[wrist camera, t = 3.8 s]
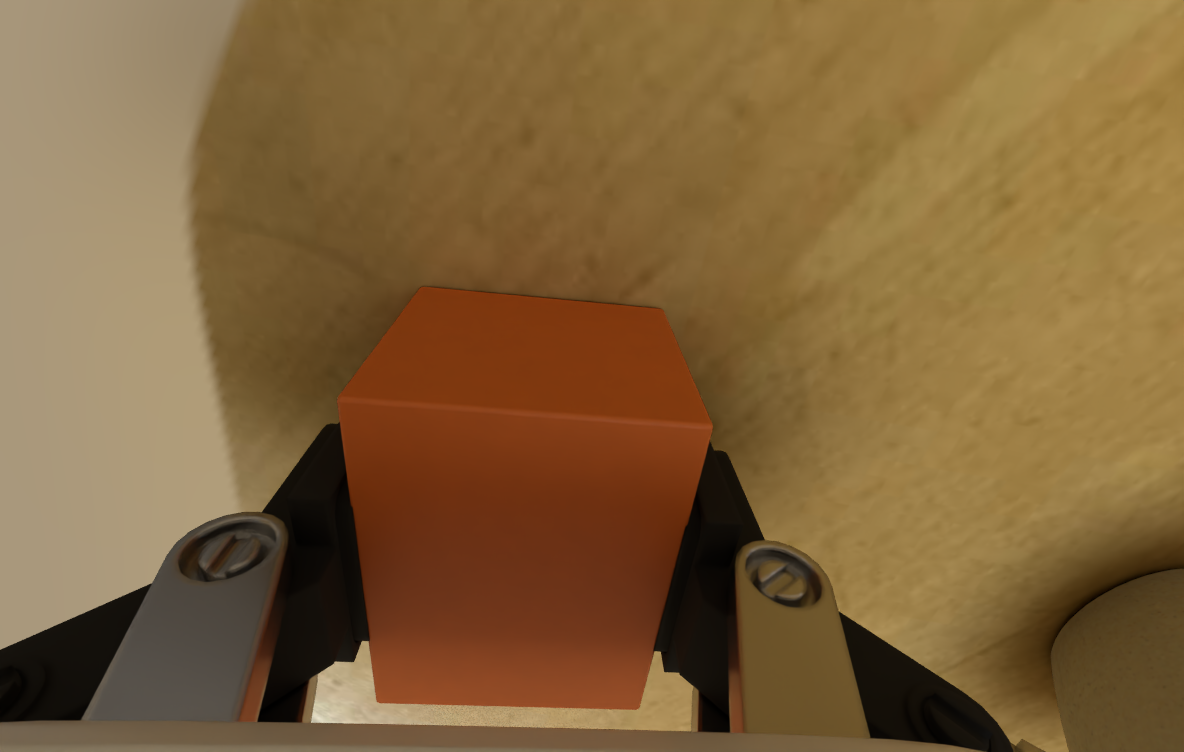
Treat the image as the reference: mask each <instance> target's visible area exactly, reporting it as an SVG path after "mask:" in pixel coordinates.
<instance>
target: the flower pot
mask: <svg viewBox="0 0 1184 752" xmlns="http://www.w3.org/2000/svg"><path fill="white" fill-rule="evenodd" d="M1051 666H1052V675H1053V681H1054V687H1055V693H1056V699H1057V704H1058V708H1059V713H1060V718H1061V722H1062V726H1063V730H1064V734H1065V738H1066V742H1067V746H1068V749H1069V752H1184V569H1173V570H1167V571H1163V572H1158V573H1154V574H1150V575H1146V576H1143V577H1140V578H1137V579H1134V580H1132V581H1129V582H1127V583H1125V584H1122V585H1120V586H1118V587H1116V588H1114V589H1112V590H1110V591H1108V592H1106V593H1105V594H1103V595H1101V596H1099V597H1097V598H1096V599H1095V600H1093V601H1092V602H1090V603H1089V604H1087V605H1086V606H1085V607H1083V608H1082V609H1081V610H1080V611H1078V612H1077V613H1076V614H1075V615H1074V616H1073V617H1072V618H1071V619H1070V620H1069V621H1068V622H1067V623H1066V624H1065V626H1064V627H1063V628H1062V629H1061V631H1060V633H1059V634H1058V636H1057V638H1056V639H1055V642H1054V645H1053V647H1052V650H1051Z"/></svg>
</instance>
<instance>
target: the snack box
mask: <svg viewBox="0 0 1184 752" xmlns="http://www.w3.org/2000/svg"><path fill="white" fill-rule="evenodd" d="M337 404H338V412H339V419H340V427H341V435H342V442H343V450H344V457H345V465H346V473H347V480H348V488H349V495H350V503H351V506H352V507H353V514H354V522H355V530H356V537H357V545H358V553H359V560H360V568H361V576H362V583H363V591H364V599H365V607H366V614H367V622H368V630H369V637H370V641H369V647H370V655H371V662H372V670H373V677H374V685H375V693H376V700H377V702H379V703H396V704H435V705H474V706H512V707H551V708H590V709H628V710H637V709H639V707H640V704H641V700H642V696H643V692H644V688H645V685H646V681H647V677H648V673H649V669H650V666H651V662H652V658H653V654H654V651H653V649H654V645H655V642H656V638H657V634H658V630H659V626H660V622H661V619H662V615H663V611H664V607H665V603H666V600H667V596H668V592H669V588H670V584H671V580H672V577H673V573H674V569H675V565H676V561H677V557H678V554H679V550H680V546H681V542H682V538H683V534H684V531H685V527H686V526H687V525H688V521H689V517H690V514H691V510H692V506H693V502H694V498H695V495H696V491H697V487H698V483H699V479H700V476H701V472H702V468H703V464H704V460H705V457H706V453H707V449H708V445H709V441H710V438H711V434H712V430H713V425H712V422H711V420H710V417H709V415H708V413H707V411H706V408H705V406H704V404H703V401H702V399H701V397H700V394H699V392H698V390H697V387H696V385H695V383H694V380H693V378H692V376H691V373H690V371H689V369H688V366H687V364H686V362H685V359H684V357H683V355H682V352H681V350H680V348H679V346H678V343H677V341H676V339H675V336H674V334H673V332H672V329H671V327H670V325H669V322H668V320H667V318H666V315H665V313H664V311H663V310H662V309H657V308H647V307H636V306H625V305H614V304H604V303H593V302H582V301H572V300H561V299H550V298H539V297H529V296H518V295H507V294H496V293H486V292H475V291H464V290H453V289H443V288H432V287H420V288H419V290H418V291H417V292H416V294H415V295H414V296H413V298H412V299H411V300H410V302H409V303H408V304H407V306H406V307H405V308H404V310H403V311H402V312H401V314H400V315H399V316H398V318H397V319H396V320H395V322H394V323H393V324H392V326H391V327H390V328H389V330H388V331H387V332H386V334H385V335H384V336H383V338H382V339H381V340H380V342H379V343H378V344H377V346H376V347H375V348H374V350H373V351H372V352H371V354H370V355H369V356H368V358H367V359H366V360H365V362H364V363H363V364H362V366H361V367H360V368H359V370H358V371H357V372H356V374H355V375H354V376H353V378H352V379H351V380H350V382H349V383H348V384H347V386H346V387H345V388H344V389H343V391H342V392H341V393H340V395H339V396H338V399H337Z"/></svg>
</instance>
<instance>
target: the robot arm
mask: <svg viewBox="0 0 1184 752" xmlns="http://www.w3.org/2000/svg"><path fill="white" fill-rule="evenodd" d="M362 641H370V637H369V630H368V622H367V614H366V607H365V599H364V591H363V583H362V576H361V568H360V560H359V553H358V545H357V537H356V530H355V522H354V514H353V507H352V506H351V503H350V495H349V488H348V480H347V473H346V465H345V457H344V450H343V442H342V435H341V427H340V422H339V423H338V424H328V425H326V426H325V427H324V428H323V429H322V430H321V432H320V433H319V434H318V436H317V437H316V438H315V440H314V441H313V443H312V444H311V445H310V447H309V448H308V449H307V451H306V452H305V454H304V455H303V456H302V458H301V459H300V460H299V462H298V463H297V465H296V466H295V467H294V469H293V470H292V471H291V473H290V474H289V476H288V477H287V478H286V480H285V481H284V482H283V484H282V485H281V487H280V488H279V489H278V491H277V492H276V493H275V495H274V496H273V498H272V499H271V500H270V502H269V503H268V504H267V506H266V507H265V509H264V510H263V511H262V512H241V513H236V514H231V515H226V516H222V517H220V518H217V519H214V520H211V521H209V522H206V523H204V524H203V525H201V526H199V527H197V528H195V529H193V530H192V531H190V532H189V533H187V534H186V535H185V536H184V537H183V538H181V539H180V540H179V541H178V542H177V543H176V544H175V545H174V546H173V548H172V549H171V550H170V552H169V553H168V554H167V556H166V558H165V560H164V562H163V564H162V566H161V568H160V569H159V571H158V573H157V575H156V577H155V579H154V581H153V583H152V584H149V585H147V586H145V587H142V588H140V589H138V590H136V591H133V592H131V593H129V594H126V595H124V596H122V597H120V598H118V599H115V600H113V601H110V602H108V603H106V604H104V605H102V606H99V607H97V608H95V609H92V610H90V611H88V612H85V613H84V614H81V615H79V616H76V617H74V618H72V619H70V620H67V621H65V622H63V623H61V624H58V625H56V626H54V627H51V628H49V629H47V630H44V631H42V632H40V633H38V634H36V635H33V636H31V637H29V638H26V639H24V640H22V641H19V642H17V643H15V644H13V645H10V646H8V647H6V648H3V649H1V650H0V752H1045V751H1043V750H1041V749H1040V748H1038V747H1036V746H1034V745H1032V744H1030V743H1029V742H1027V741H1025V740H1023V739H1021V741H1020V742H1019V743H1018V744H1017V745H1016V746H1015V745H1014V744H1012V743H1010V741H1009V739H1008V738H1007V736H1006V735H1005V733H1004V732H1003V730H1002V729H1001V728H1000V726H999V725H998V723H997V722H996V721H995V720H994V719H993V718H992V717H991V716H990V715H989V713H988V712H987V711H986V710H985V709H984V708H983V707H982V706H981V705H979V704H978V703H977V702H976V701H974V700H973V699H972V698H970V697H969V696H968V695H966V694H965V693H964V692H962V691H961V690H959V689H958V688H956V687H955V686H953V685H952V684H950V683H948V682H947V681H945V680H944V679H942V678H941V677H939V676H938V675H936V674H935V673H933V672H931V671H930V670H928V669H927V668H925V667H924V666H922V665H921V664H919V663H918V662H916V661H914V660H913V659H911V658H910V657H908V656H907V655H905V654H904V653H902V652H901V651H899V650H897V649H896V648H894V647H893V646H891V645H890V644H888V643H887V642H885V641H884V640H882V639H881V638H879V637H877V636H876V635H874V634H873V633H871V632H870V631H868V630H867V629H865V628H864V627H862V626H860V625H859V624H857V623H856V622H854V621H853V620H851V619H850V618H848V617H847V616H845V615H843V614H842V613H840V612H839V611H838V607H837V604H836V600H835V596H834V592H833V588H832V585H831V583H830V581H829V578H828V576H827V574H826V573H825V572H824V571H823V569H822V568H821V567H820V566H819V564H818V563H816V562H815V561H814V560H813V559H812V558H810V557H809V556H808V555H807V554H805V553H803V552H802V551H800V550H798V549H796V548H794V547H792V546H790V545H787V544H783V543H780V542H777V541H768V540H765V539H764V537H763V535H762V532H761V530H760V528H759V525H758V523H757V521H756V519H755V516H754V514H753V512H752V509H751V507H750V505H749V503H748V500H747V498H746V496H745V493H744V491H743V489H742V486H741V484H740V482H739V480H738V477H737V475H736V473H735V470H734V468H733V466H732V463H731V461H730V459H729V457H728V455H727V454H726V452H724V451H715V450H713V447H712V445H711V442H710V441H709V445H708V449H707V453H706V457H705V460H704V464H703V468H702V472H701V476H700V479H699V483H698V487H697V491H696V495H695V498H694V502H693V506H692V510H691V514H690V517H689V521H688V525H687V526H686V527H685V531H684V534H683V538H682V542H681V546H680V550H679V554H678V557H677V561H676V565H675V569H674V573H673V577H672V580H671V584H670V588H669V592H668V596H667V600H666V603H665V607H664V611H663V615H662V619H661V622H660V626H659V630H658V634H657V638H656V642H655V645H654V649H653V651H661V655H662V661H663V667H664V672H676V673H680V675H681V676H682V677H683V678H685V679H686V680H687V681H688V682H689V683H690V684H691V685H693V691H692V718H691V732H685V731H650V730H615V729H573V728H531V727H488V726H442V725H396V724H343V723H311V718H312V712H313V706H314V700H315V694H316V688H317V682H318V673H320V672H321V671H323V670H325V669H326V668H328V667H329V666H331V665H332V664H334V662H335V661H337V662H354V661H355V658H356V655H357V653H358V650H359V647H360V645H361V642H362Z"/></svg>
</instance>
